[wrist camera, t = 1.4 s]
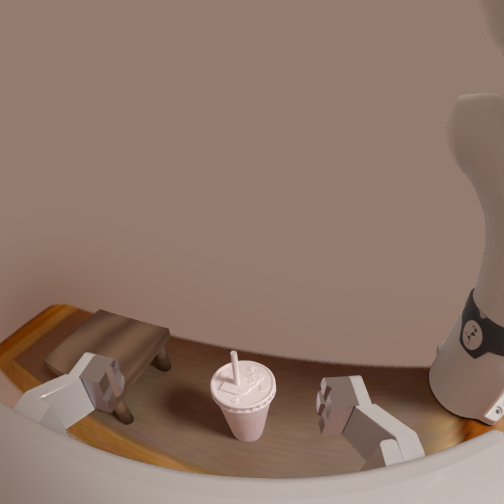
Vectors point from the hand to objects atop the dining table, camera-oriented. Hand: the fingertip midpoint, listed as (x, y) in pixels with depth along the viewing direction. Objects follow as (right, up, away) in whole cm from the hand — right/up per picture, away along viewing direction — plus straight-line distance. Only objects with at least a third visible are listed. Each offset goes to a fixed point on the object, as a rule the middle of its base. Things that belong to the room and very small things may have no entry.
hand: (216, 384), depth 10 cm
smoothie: (+1, -16, +19) cm, 25 cm away
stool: (-19, -14, +26) cm, 35 cm away
